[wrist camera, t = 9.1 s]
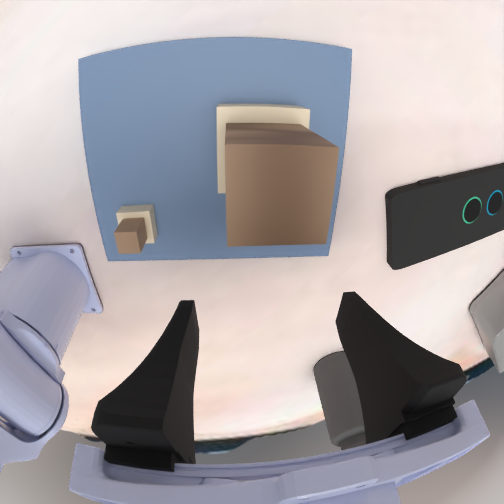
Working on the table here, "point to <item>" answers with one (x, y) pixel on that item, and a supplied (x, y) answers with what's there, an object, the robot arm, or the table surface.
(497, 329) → the projector
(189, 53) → the board
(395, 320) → the table surface
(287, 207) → the walnut block
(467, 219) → the smart home device
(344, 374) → the bottle
